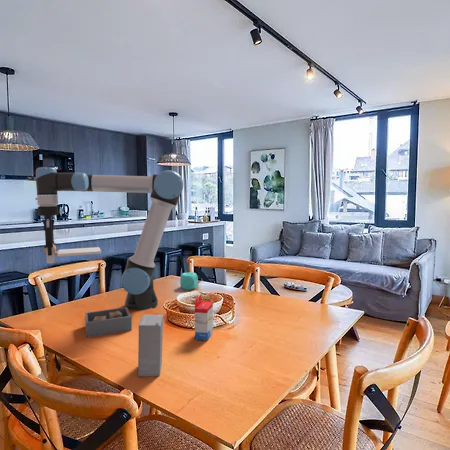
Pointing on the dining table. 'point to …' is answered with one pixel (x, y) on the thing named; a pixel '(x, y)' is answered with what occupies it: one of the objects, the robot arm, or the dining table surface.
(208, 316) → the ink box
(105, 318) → the block
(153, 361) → the skincare box
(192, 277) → the decorative dice
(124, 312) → the tub
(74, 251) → the lid
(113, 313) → the block
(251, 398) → the dining table surface
